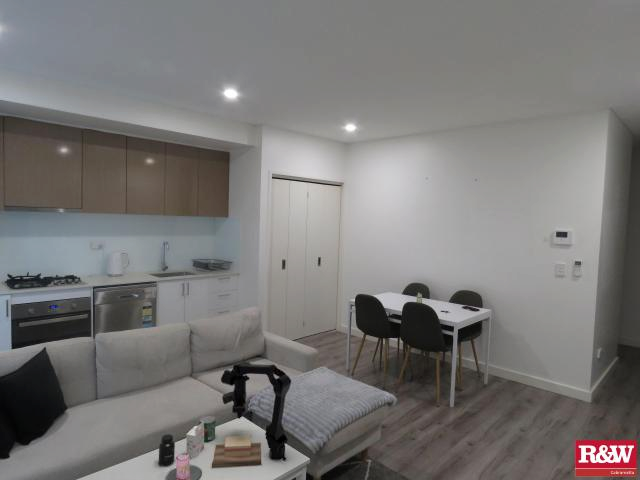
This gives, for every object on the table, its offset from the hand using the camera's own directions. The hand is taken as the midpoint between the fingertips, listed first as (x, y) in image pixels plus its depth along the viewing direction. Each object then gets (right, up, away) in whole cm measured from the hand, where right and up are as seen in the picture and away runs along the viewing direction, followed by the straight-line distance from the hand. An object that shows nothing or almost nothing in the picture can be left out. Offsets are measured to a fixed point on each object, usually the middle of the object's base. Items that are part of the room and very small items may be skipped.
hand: (239, 418), depth 204 cm
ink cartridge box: (-19, -13, -10) cm, 25 cm away
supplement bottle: (-30, -13, -17) cm, 37 cm away
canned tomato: (-17, -13, +3) cm, 21 cm away
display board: (+1, -14, -11) cm, 17 cm away
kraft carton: (+1, -12, -8) cm, 15 cm away
